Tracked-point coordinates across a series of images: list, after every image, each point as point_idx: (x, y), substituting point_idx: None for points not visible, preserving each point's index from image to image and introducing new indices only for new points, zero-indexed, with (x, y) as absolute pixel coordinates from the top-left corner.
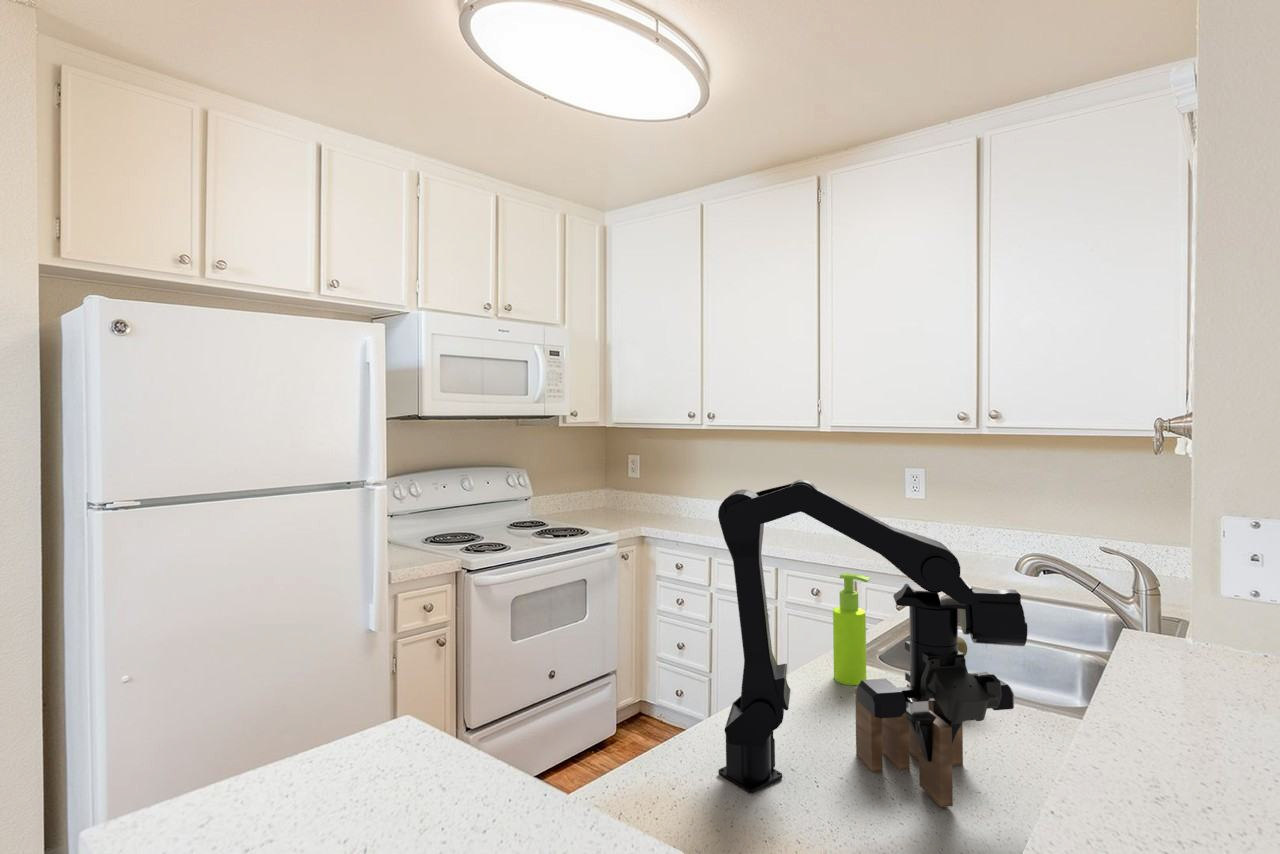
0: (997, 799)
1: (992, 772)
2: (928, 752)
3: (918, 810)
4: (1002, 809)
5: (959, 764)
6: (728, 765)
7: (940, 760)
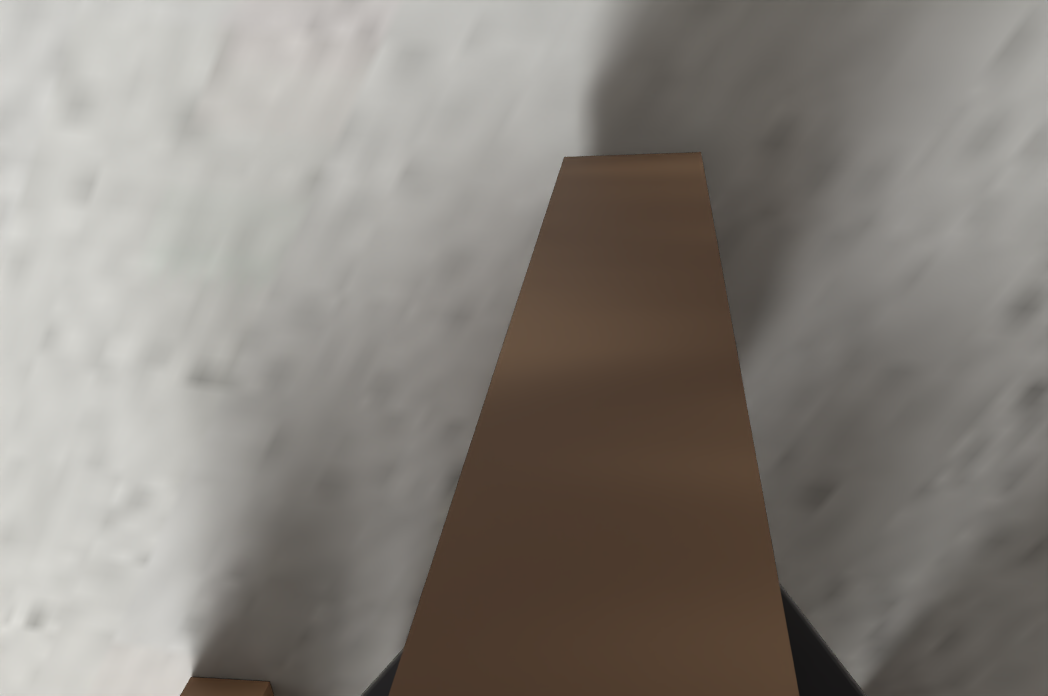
0: (87, 264)
1: (14, 577)
2: (825, 683)
3: (914, 186)
4: (93, 114)
5: (213, 684)
6: None
7: (744, 433)
